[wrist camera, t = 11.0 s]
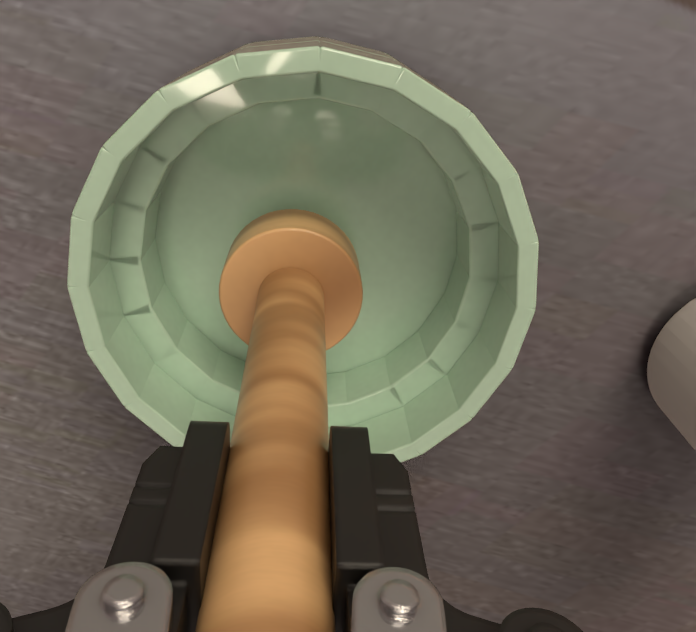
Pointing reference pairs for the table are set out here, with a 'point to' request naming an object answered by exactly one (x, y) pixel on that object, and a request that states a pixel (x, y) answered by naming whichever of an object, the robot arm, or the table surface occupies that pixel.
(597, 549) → the table surface
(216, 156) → the bowl
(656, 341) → the beverage can
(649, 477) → the table surface
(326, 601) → the pestle
